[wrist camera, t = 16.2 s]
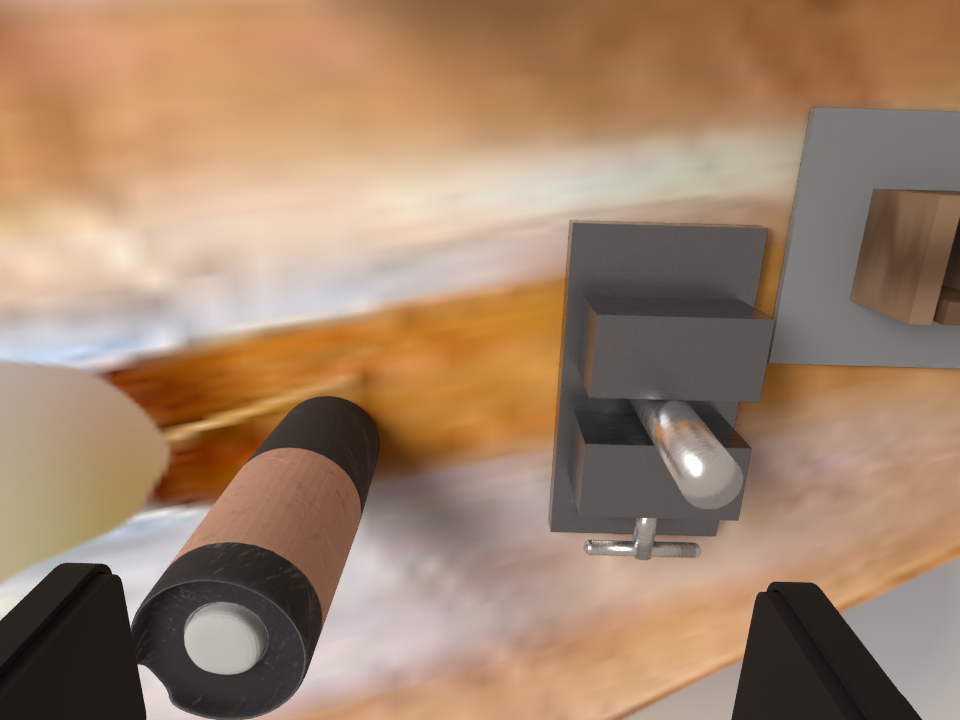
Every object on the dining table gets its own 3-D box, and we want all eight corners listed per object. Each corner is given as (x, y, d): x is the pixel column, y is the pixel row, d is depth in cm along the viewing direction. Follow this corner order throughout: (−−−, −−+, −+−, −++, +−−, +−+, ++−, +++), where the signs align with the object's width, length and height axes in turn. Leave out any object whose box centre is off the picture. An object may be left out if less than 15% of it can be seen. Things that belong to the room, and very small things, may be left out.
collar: (873, 188, 39) (940, 195, 33) (986, 191, 39) (1073, 198, 33) (849, 300, 41) (908, 324, 35) (956, 302, 41) (1033, 327, 35)
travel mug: (394, 406, 44) (326, 600, 25) (371, 499, 46) (293, 739, 27) (286, 379, 44) (133, 557, 25) (269, 474, 46) (117, 703, 27)
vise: (569, 220, 40) (609, 253, 27) (758, 225, 40) (887, 261, 27) (548, 520, 47) (572, 659, 34) (708, 524, 47) (793, 664, 34)
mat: (810, 108, 38) (815, 107, 37) (1076, 115, 38) (1085, 115, 37) (765, 360, 43) (769, 363, 42) (999, 366, 43) (1006, 369, 42)
